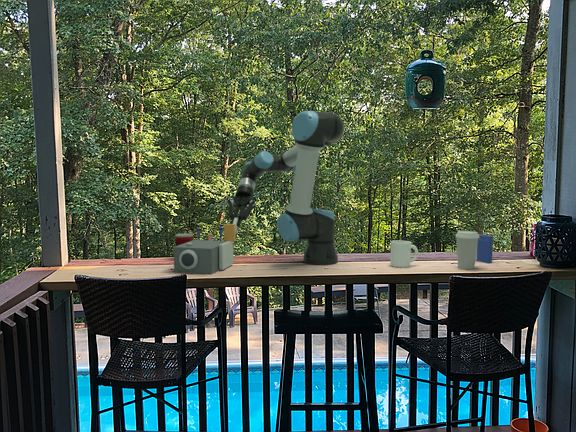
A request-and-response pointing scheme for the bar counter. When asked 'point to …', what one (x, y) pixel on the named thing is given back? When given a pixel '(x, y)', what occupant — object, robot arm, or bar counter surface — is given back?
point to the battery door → (227, 246)
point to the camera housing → (197, 257)
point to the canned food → (183, 238)
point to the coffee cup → (466, 249)
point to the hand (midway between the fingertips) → (233, 231)
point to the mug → (402, 253)
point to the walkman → (484, 249)
